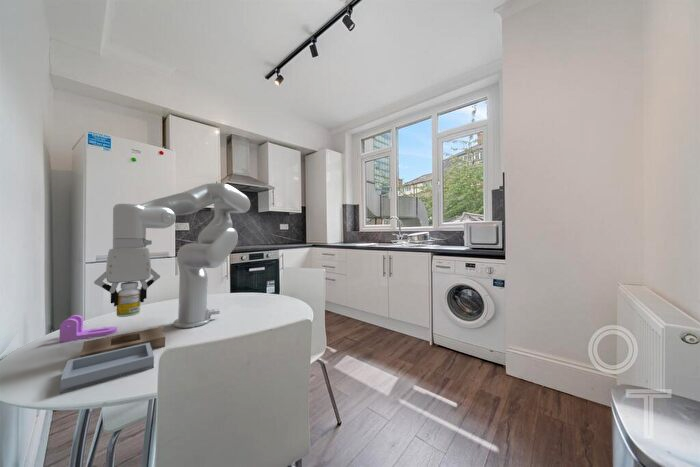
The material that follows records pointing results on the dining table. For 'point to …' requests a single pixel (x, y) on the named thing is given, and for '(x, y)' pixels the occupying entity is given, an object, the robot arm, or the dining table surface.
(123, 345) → the socket holder
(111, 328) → the bracket
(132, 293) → the supplement bottle
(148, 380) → the dining table surface
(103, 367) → the parts tray
